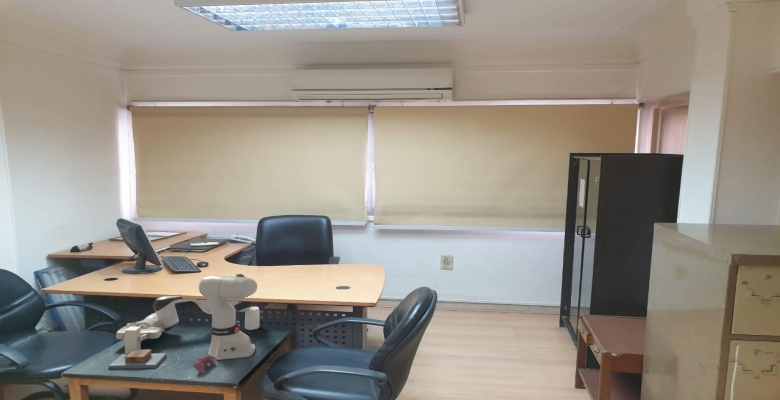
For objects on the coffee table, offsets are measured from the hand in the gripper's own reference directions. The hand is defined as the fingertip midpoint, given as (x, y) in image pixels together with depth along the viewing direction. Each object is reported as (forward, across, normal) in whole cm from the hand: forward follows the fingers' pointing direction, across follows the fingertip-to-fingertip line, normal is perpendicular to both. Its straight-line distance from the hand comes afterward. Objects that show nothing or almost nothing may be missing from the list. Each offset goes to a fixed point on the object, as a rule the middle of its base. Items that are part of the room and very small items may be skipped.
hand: (132, 339), depth 202 cm
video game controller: (+20, -40, -7) cm, 45 cm away
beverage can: (-31, -52, -7) cm, 61 cm away
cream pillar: (-1, 0, -7) cm, 7 cm away
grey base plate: (+11, -8, -6) cm, 15 cm away
